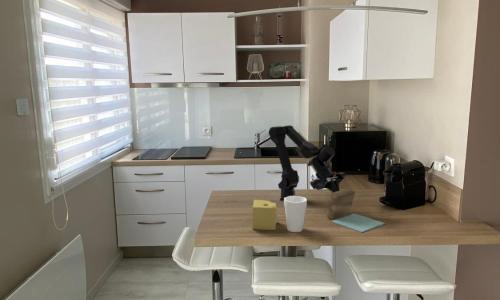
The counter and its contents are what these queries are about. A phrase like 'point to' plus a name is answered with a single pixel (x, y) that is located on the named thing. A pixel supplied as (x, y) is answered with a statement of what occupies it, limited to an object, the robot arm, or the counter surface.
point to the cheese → (264, 215)
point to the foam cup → (295, 212)
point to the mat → (358, 222)
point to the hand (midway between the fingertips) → (339, 195)
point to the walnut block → (340, 203)
